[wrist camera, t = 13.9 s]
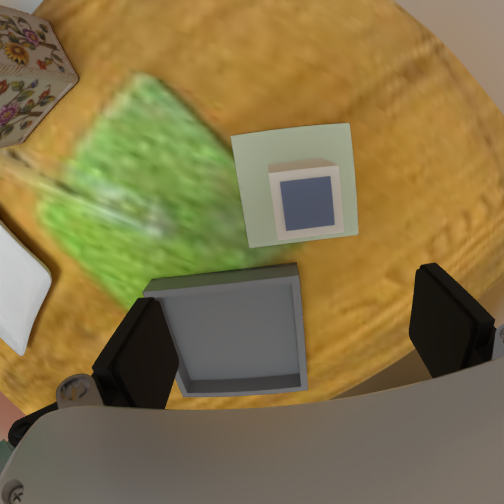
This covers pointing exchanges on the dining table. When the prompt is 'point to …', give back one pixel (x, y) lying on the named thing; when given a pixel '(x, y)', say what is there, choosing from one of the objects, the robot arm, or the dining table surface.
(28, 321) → the salad plate
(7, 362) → the dining table surface
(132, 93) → the dining table surface
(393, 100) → the dining table surface
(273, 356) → the bin
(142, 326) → the robot arm
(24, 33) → the decorative jar
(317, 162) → the labelled box
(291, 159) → the mat
